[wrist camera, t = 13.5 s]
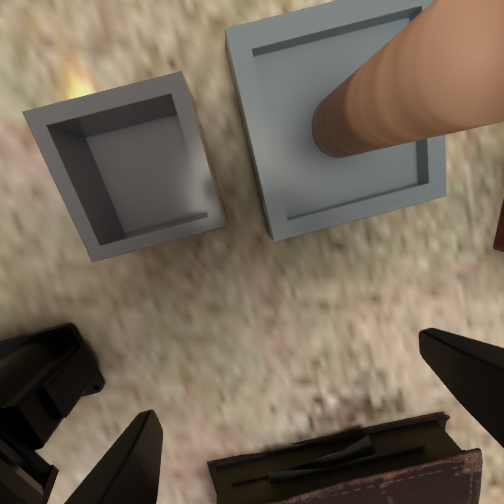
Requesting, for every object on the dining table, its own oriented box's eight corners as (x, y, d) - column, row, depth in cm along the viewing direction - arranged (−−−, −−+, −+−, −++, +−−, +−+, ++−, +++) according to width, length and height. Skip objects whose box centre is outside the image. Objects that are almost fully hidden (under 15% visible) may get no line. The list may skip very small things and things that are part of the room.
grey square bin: (121, 245, 18) (92, 262, 14) (72, 129, 16) (21, 111, 12) (226, 217, 18) (225, 226, 14) (193, 98, 16) (181, 71, 12)
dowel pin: (317, 164, 17) (434, 139, 7) (306, 99, 16) (429, -34, 6) (373, 149, 17) (564, 105, 7) (367, 84, 16) (583, -72, 6)
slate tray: (269, 235, 19) (274, 241, 17) (225, 47, 15) (224, 28, 13) (424, 194, 19) (446, 196, 17) (415, -1, 16) (441, -26, 14)
